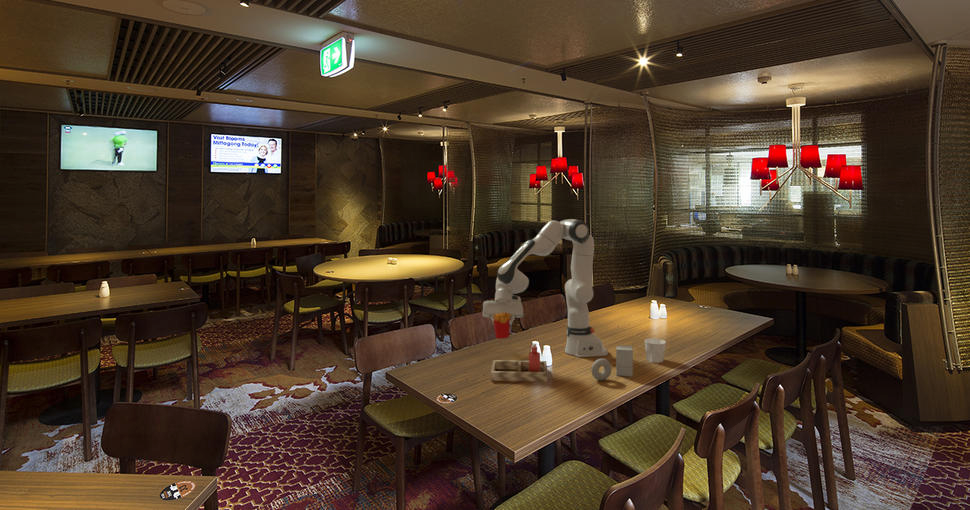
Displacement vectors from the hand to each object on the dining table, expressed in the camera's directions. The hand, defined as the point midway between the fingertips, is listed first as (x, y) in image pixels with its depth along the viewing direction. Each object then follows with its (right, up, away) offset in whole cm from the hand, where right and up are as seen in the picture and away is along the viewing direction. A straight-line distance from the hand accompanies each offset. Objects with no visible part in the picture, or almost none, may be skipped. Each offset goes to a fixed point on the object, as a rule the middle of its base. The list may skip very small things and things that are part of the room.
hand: (502, 324), depth 230 cm
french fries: (0, -7, +1) cm, 7 cm away
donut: (+44, -23, -17) cm, 53 cm away
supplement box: (+57, -22, -9) cm, 62 cm away
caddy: (+8, -22, -9) cm, 25 cm away
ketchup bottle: (+14, -23, -11) cm, 29 cm away
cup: (+77, -20, +9) cm, 80 cm away
